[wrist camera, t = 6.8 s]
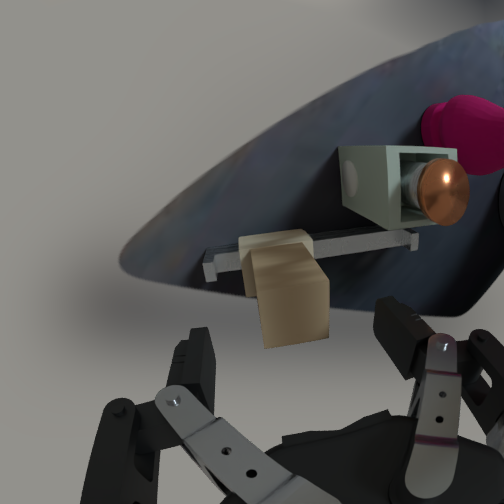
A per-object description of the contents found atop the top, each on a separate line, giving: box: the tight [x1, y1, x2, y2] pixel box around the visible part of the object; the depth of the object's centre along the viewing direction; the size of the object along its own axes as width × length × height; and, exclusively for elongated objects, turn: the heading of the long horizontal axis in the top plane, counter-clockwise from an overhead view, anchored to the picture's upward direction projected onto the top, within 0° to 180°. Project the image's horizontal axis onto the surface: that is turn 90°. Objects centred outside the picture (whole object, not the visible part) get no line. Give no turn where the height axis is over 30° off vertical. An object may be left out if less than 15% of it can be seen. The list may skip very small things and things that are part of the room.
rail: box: [202, 225, 419, 282], centre depth 22 cm, size 18×2×4 cm, turn 97°
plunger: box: [400, 158, 470, 226], centre depth 15 cm, size 4×4×6 cm
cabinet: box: [338, 146, 457, 231], centre depth 18 cm, size 6×5×8 cm
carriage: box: [239, 229, 329, 349], centre depth 18 cm, size 5×4×10 cm
